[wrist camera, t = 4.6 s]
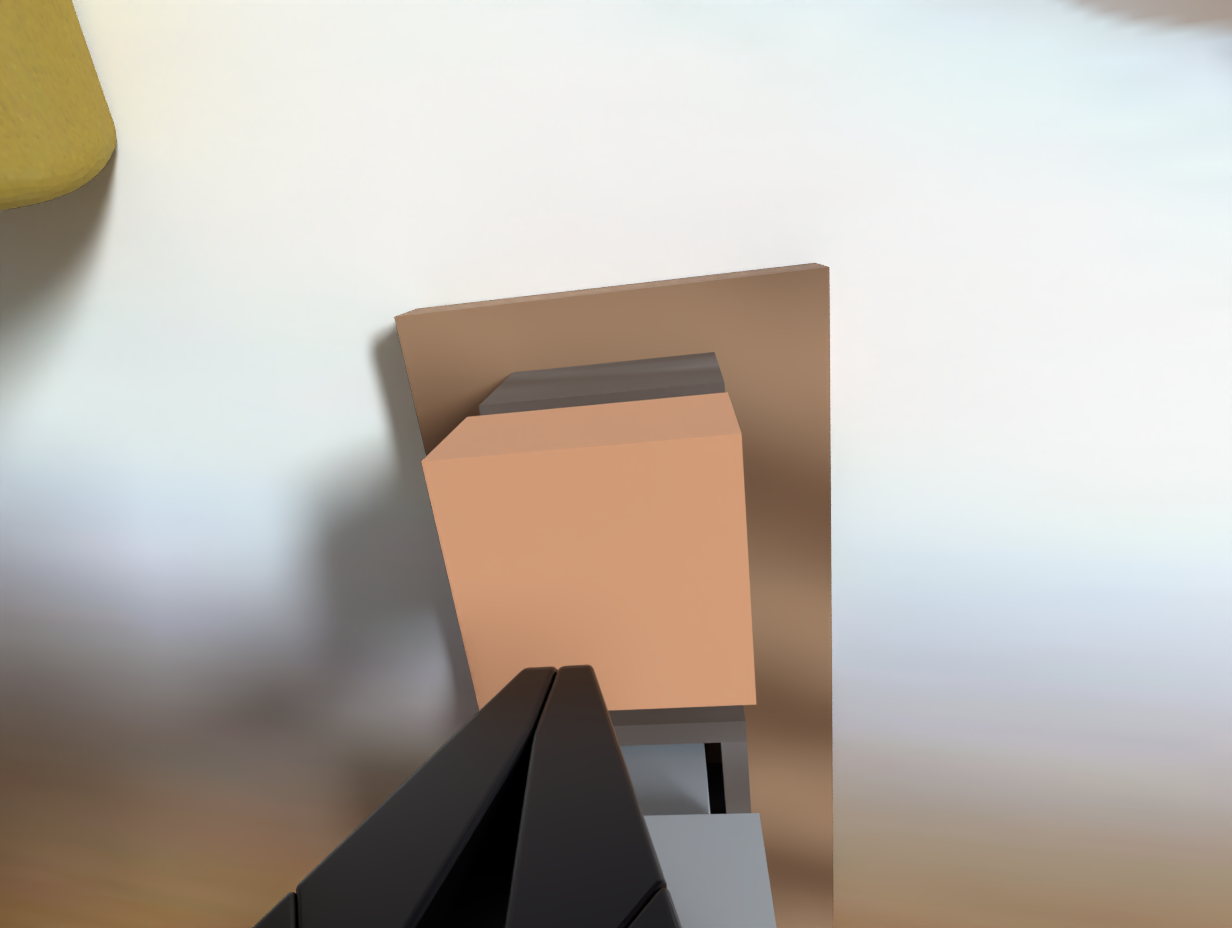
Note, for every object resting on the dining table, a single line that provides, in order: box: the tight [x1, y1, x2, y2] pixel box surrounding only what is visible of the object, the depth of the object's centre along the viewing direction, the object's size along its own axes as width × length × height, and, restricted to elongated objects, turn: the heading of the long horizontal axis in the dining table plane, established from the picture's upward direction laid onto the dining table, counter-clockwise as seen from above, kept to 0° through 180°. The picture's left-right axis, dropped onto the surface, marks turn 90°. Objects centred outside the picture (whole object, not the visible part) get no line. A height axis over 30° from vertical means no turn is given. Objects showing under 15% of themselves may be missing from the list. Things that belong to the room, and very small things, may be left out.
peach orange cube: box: [421, 392, 756, 711], centre depth 13 cm, size 5×5×5 cm
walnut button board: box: [394, 263, 833, 928], centre depth 18 cm, size 24×10×4 cm, turn 7°
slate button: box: [620, 743, 776, 928], centre depth 14 cm, size 5×5×5 cm
